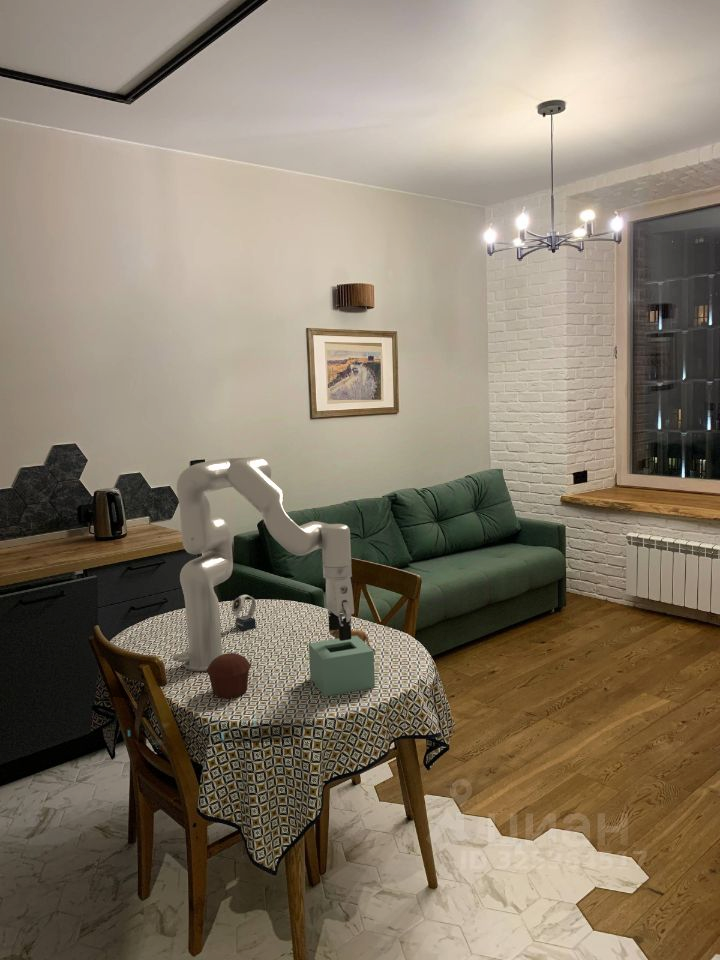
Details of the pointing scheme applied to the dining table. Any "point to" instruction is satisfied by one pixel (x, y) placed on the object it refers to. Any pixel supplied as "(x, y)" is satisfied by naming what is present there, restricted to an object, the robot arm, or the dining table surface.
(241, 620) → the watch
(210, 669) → the muffin
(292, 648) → the dining table surface
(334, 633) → the lion figurine
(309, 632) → the dining table surface
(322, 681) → the money box
